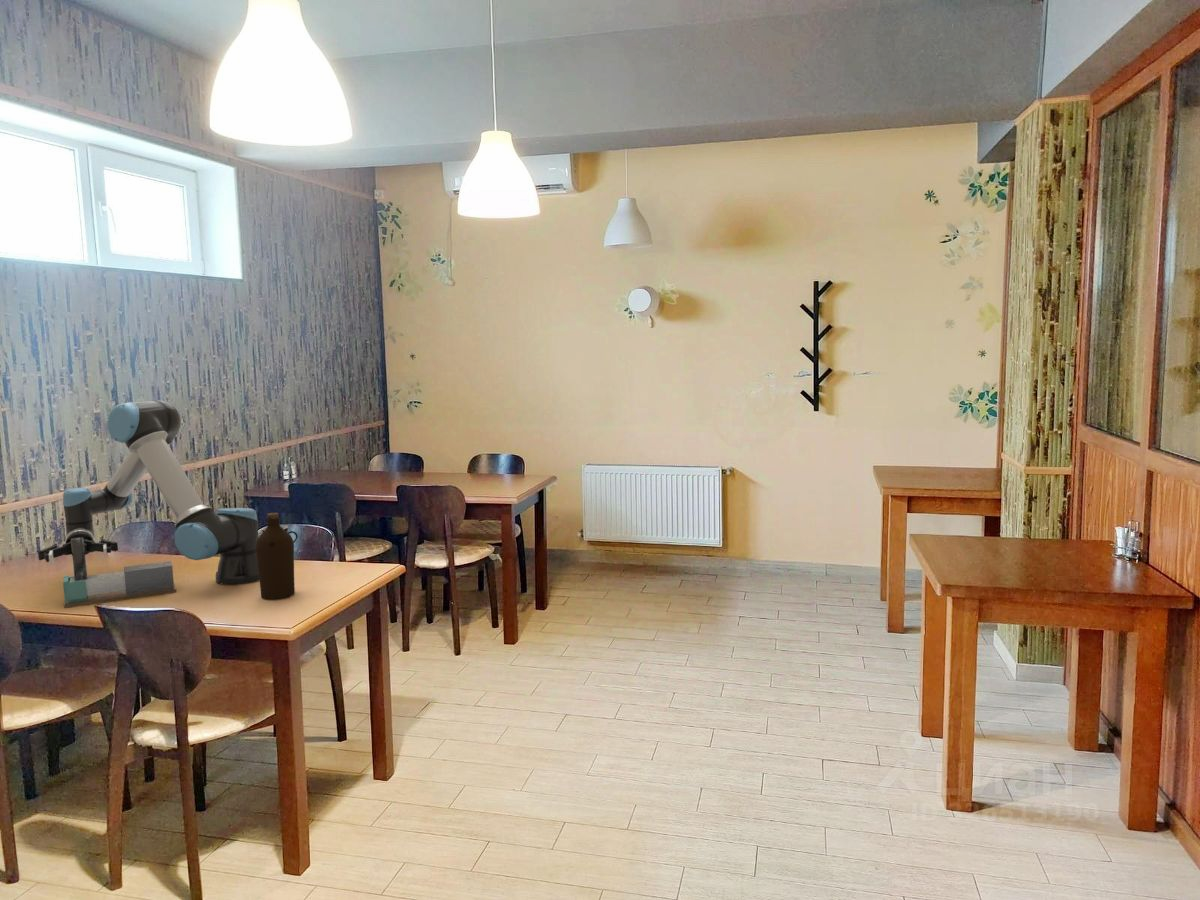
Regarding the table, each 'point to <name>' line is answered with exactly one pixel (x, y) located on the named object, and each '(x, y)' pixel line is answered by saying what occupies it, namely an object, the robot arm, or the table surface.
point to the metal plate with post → (94, 582)
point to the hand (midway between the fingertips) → (78, 556)
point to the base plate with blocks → (137, 584)
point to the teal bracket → (74, 590)
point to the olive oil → (275, 561)
